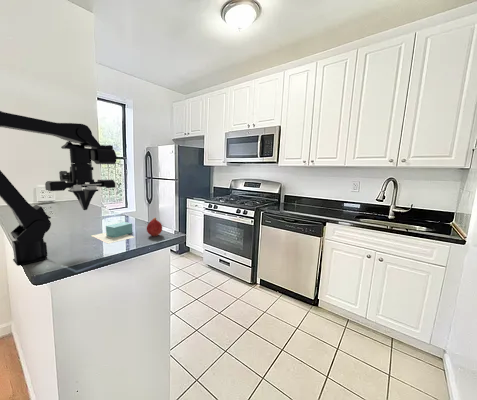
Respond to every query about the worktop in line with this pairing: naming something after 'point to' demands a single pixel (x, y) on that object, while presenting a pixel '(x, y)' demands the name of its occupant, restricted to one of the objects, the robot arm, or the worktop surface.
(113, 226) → the block
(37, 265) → the worktop surface
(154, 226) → the onion
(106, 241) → the mat
